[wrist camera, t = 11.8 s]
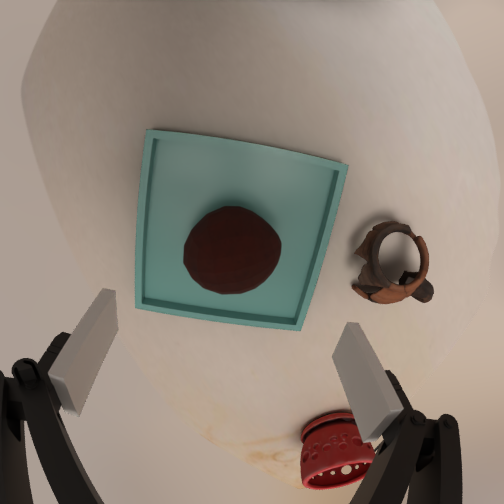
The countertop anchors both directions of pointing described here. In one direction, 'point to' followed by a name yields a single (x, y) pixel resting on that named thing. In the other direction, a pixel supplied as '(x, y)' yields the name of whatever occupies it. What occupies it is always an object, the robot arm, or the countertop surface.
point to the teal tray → (232, 194)
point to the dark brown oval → (231, 251)
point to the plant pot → (333, 452)
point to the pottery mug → (374, 276)
